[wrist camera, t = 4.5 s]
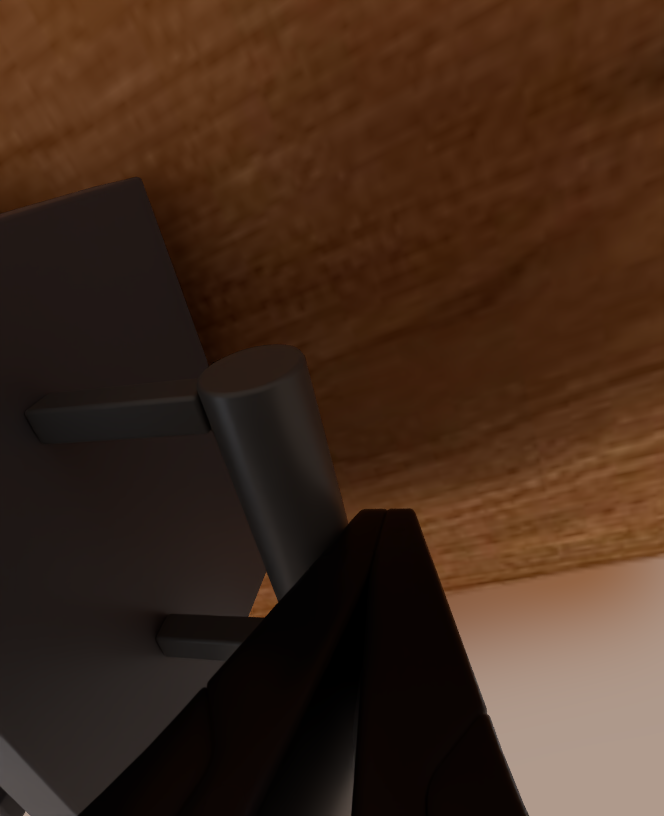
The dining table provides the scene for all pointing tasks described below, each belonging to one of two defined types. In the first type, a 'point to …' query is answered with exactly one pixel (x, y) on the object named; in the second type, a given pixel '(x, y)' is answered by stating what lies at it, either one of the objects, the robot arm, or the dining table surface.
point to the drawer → (131, 494)
